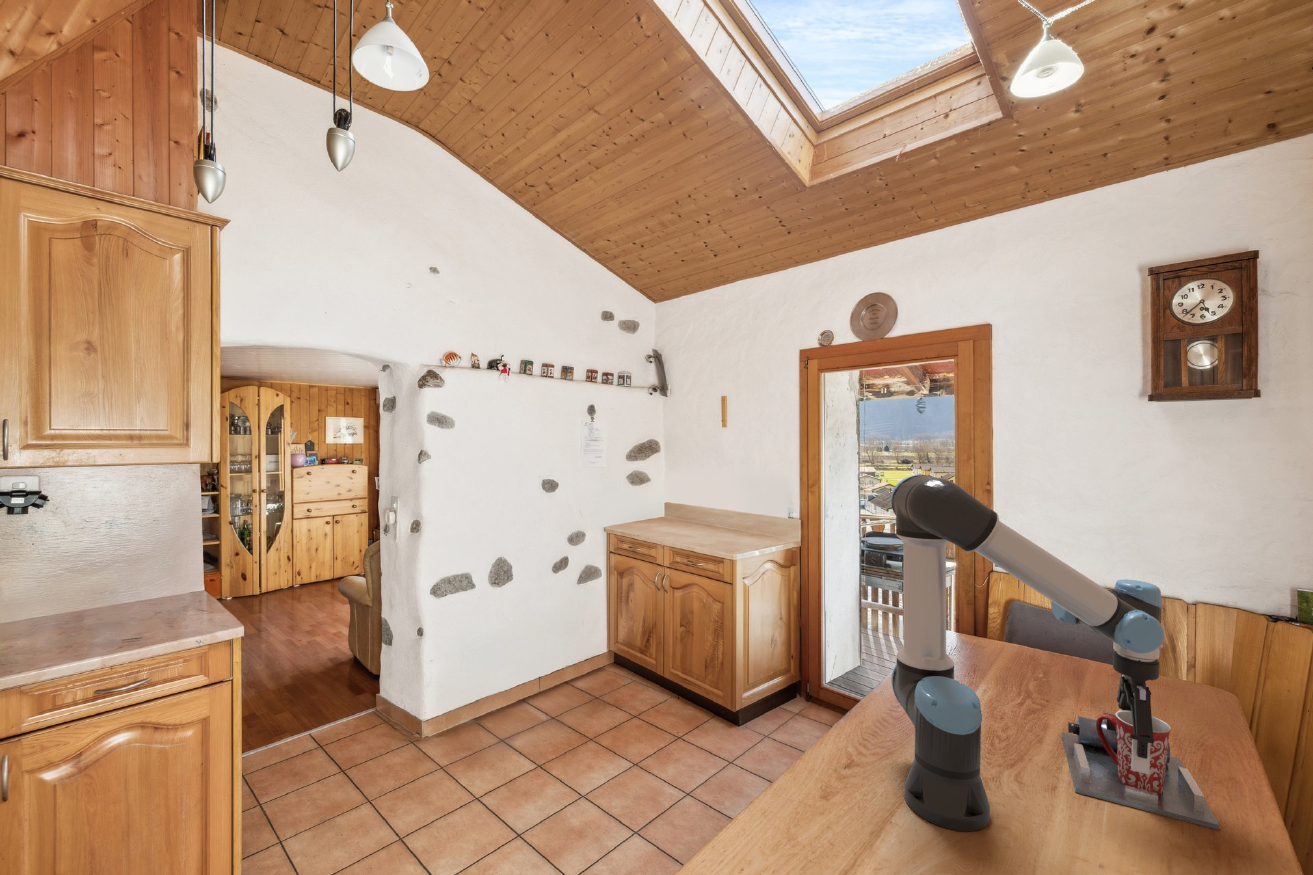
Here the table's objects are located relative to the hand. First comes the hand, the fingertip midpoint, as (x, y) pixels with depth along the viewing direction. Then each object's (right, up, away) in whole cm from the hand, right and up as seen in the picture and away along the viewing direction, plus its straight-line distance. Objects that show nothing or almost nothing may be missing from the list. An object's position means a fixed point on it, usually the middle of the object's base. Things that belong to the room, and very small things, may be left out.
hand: (1132, 755), depth 121 cm
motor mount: (+2, -7, +3) cm, 8 cm away
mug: (0, -6, +1) cm, 6 cm away
